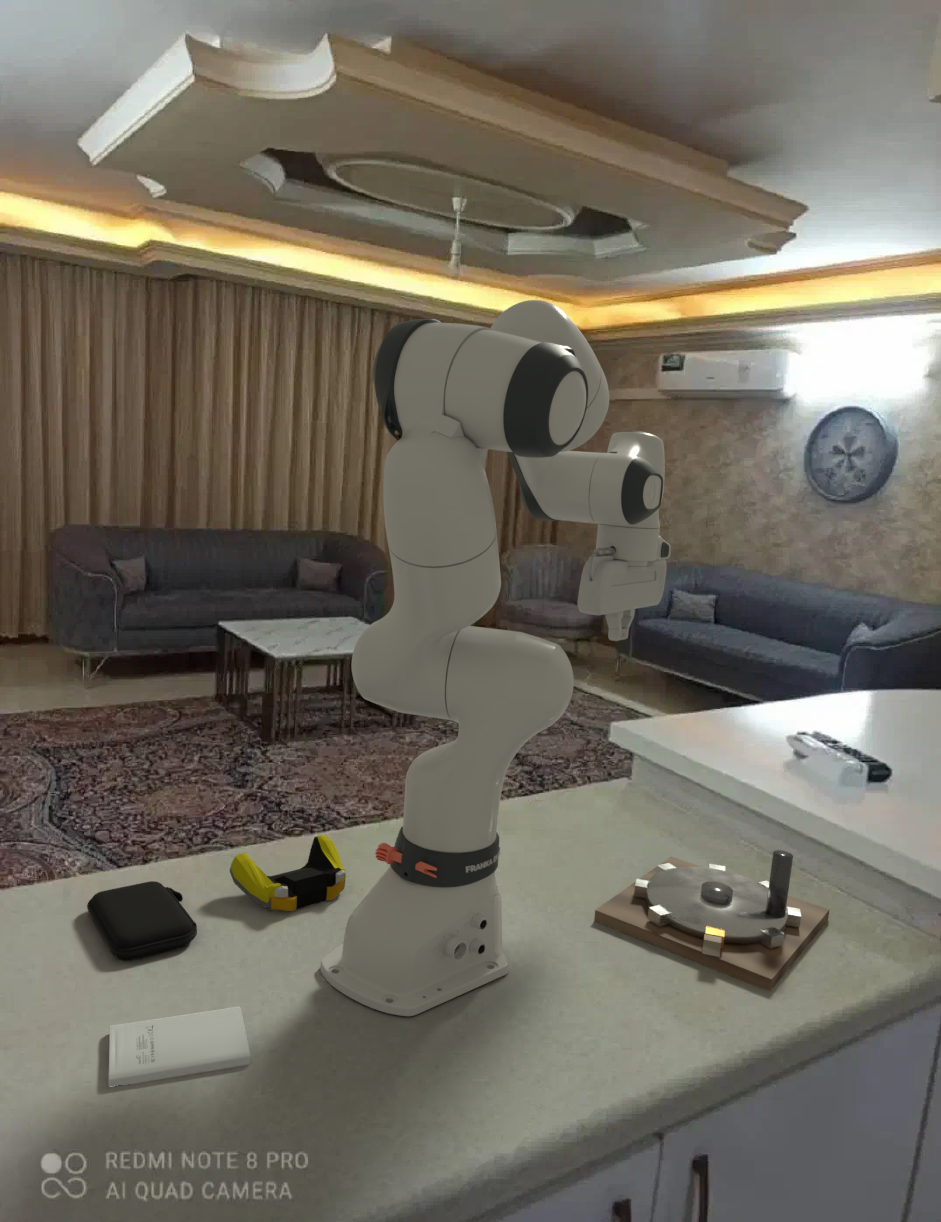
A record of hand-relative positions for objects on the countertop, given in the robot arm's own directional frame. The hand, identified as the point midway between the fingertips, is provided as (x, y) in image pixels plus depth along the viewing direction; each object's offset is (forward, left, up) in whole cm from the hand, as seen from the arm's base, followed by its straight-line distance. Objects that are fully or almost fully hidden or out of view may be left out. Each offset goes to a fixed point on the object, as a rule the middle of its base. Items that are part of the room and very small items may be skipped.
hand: (617, 639), depth 134 cm
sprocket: (-8, -22, -31) cm, 39 cm away
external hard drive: (-70, +6, -34) cm, 78 cm away
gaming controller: (-41, +22, -34) cm, 58 cm away
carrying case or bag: (-59, +28, -34) cm, 74 cm away
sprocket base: (-8, -22, -33) cm, 40 cm away
